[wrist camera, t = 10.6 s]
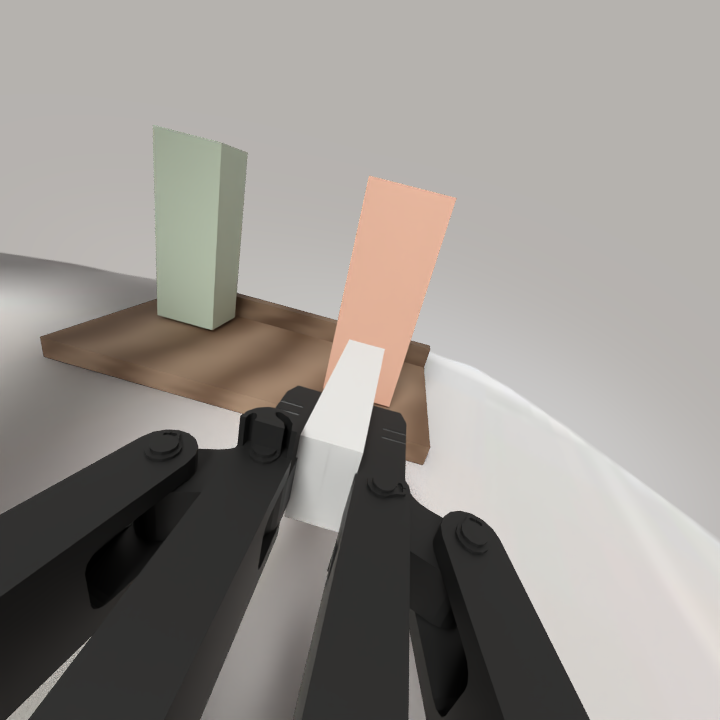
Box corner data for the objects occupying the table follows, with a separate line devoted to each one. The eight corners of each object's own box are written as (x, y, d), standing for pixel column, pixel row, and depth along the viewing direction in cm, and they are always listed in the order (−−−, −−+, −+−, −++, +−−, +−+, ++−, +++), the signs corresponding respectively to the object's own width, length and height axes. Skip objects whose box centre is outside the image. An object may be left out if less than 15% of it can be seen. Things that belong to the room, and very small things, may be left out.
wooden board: (43, 356, 23) (34, 308, 22) (180, 304, 37) (180, 272, 35) (422, 465, 22) (440, 422, 21) (418, 369, 36) (429, 340, 34)
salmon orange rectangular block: (323, 388, 24) (368, 175, 19) (335, 364, 28) (376, 182, 22) (389, 406, 24) (456, 197, 18) (392, 380, 28) (448, 201, 22)
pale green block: (157, 314, 29) (152, 124, 23) (187, 303, 33) (189, 138, 27) (212, 330, 29) (221, 142, 23) (235, 316, 33) (248, 153, 27)
